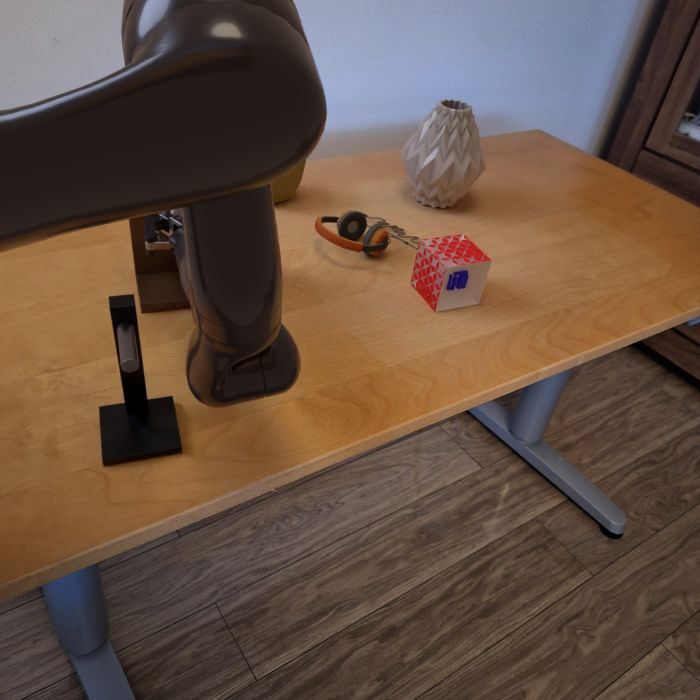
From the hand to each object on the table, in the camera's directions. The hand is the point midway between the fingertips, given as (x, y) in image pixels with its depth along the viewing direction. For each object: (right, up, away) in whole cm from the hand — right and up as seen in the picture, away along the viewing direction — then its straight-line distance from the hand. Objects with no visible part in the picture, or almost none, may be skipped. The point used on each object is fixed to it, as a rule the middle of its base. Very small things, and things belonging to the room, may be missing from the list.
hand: (192, 203), depth 82 cm
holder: (-2, -28, -14) cm, 31 cm away
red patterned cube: (+35, -11, +15) cm, 40 cm away
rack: (-2, -10, +9) cm, 14 cm away
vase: (+37, +10, +41) cm, 57 cm away
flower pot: (+6, +9, +34) cm, 35 cm away
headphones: (+24, -2, +24) cm, 34 cm away
